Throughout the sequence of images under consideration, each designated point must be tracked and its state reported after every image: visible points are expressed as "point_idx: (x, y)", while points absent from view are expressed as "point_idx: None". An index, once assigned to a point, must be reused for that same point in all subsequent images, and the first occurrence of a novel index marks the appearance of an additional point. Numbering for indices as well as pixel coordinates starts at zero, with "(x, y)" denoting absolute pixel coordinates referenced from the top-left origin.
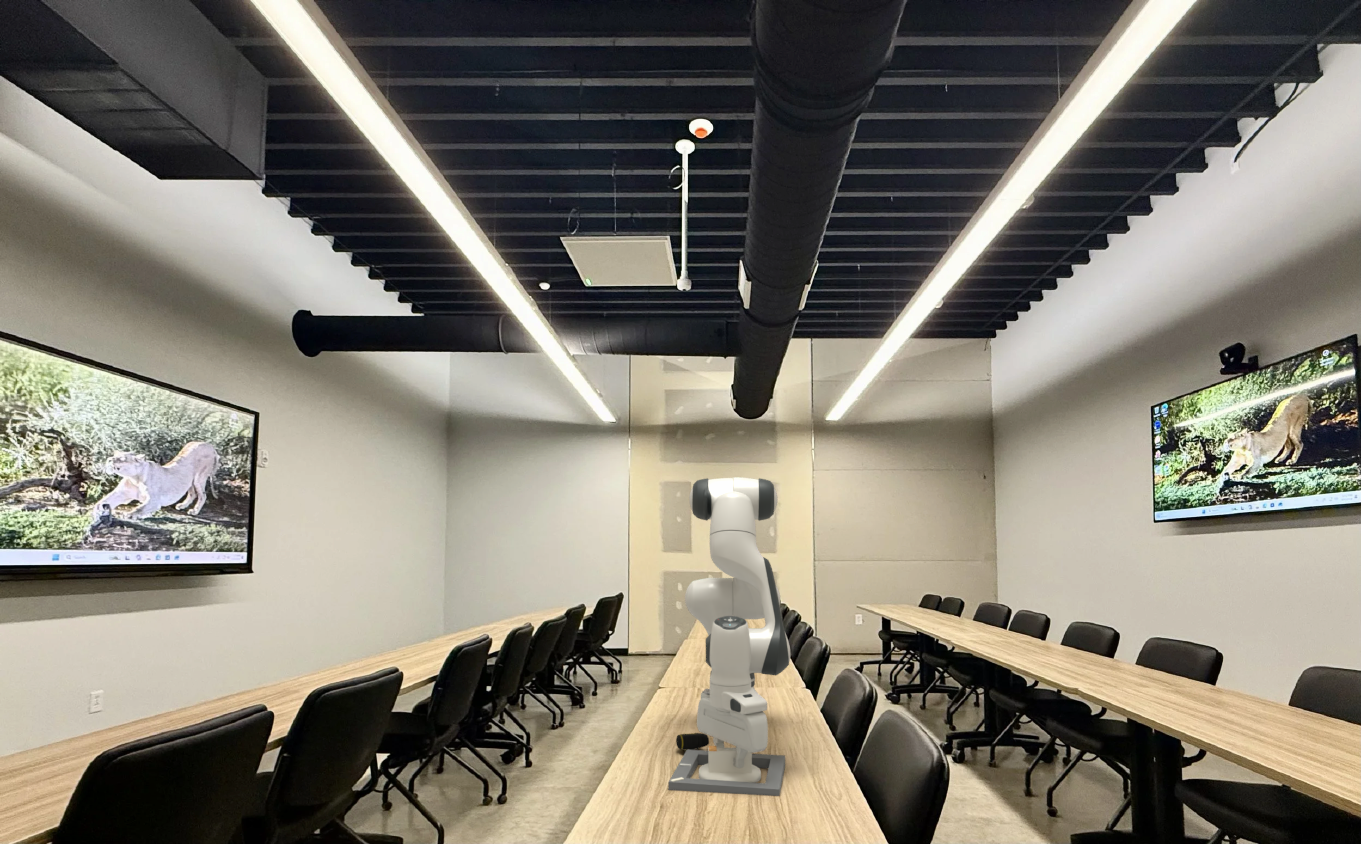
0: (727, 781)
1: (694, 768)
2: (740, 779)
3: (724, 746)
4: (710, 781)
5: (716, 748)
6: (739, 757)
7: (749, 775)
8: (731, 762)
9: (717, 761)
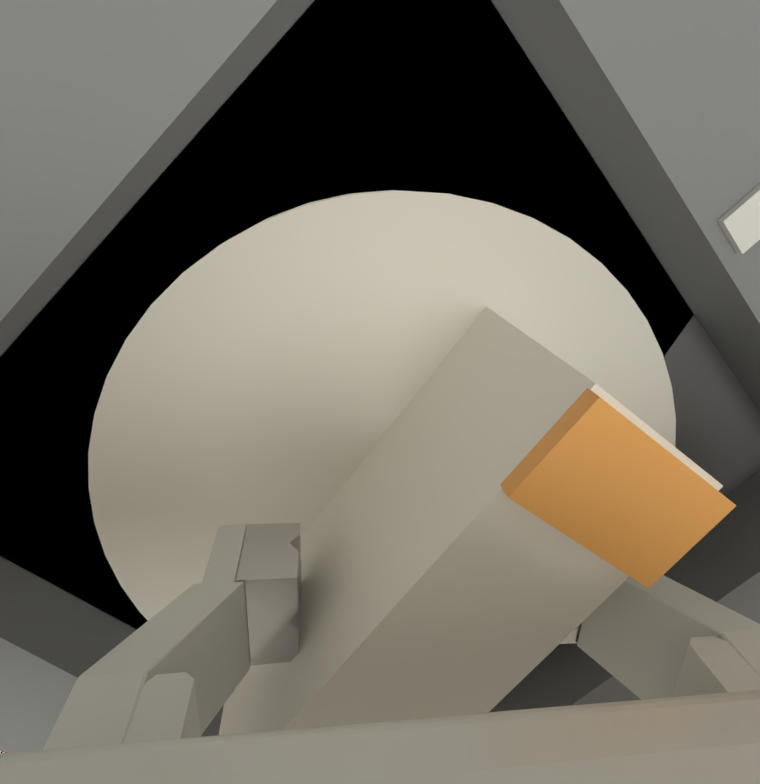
0: (34, 240)
1: (727, 336)
2: (123, 440)
3: (620, 680)
4: (128, 40)
5: (556, 526)
6: (165, 621)
7: (187, 564)
8: (352, 543)
9: (454, 425)
